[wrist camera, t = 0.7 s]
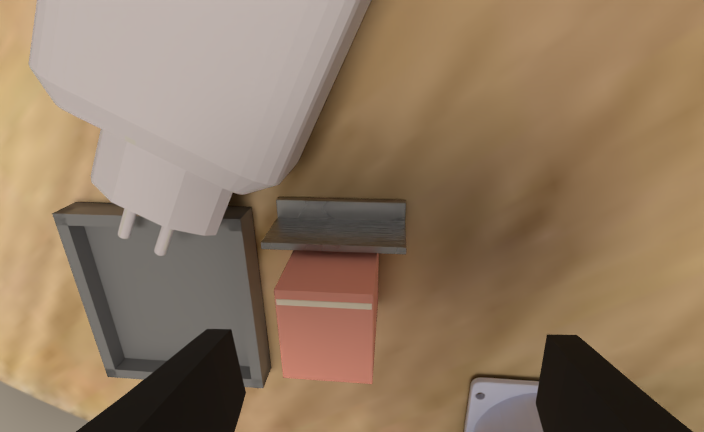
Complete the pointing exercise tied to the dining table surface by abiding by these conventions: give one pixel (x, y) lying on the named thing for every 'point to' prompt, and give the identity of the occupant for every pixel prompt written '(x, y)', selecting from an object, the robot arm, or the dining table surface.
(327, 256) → the salmon gift carton
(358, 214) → the bar
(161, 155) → the charger
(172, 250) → the tray
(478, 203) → the dining table surface
